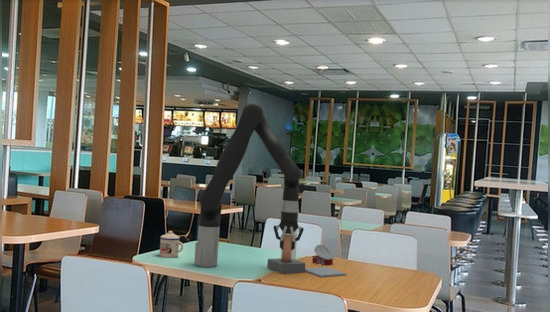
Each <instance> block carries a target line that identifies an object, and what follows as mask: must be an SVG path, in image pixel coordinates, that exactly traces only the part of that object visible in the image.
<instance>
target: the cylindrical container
mask: <svg viewBox="0 0 550 312" xmlns="http://www.w3.org/2000/svg"><path fill="white" fill-rule="evenodd" d="M299 211H300V210H298V215H299V214H300V213H299ZM298 230H299V229H298V228H297V230H296V231H295V232H294V235H295V238H297V237H298ZM285 235H291V234H285ZM297 242H298V241H296V242H295V248H294V249H293V250H292V251H291V258H292V259H295V260H297V259H296V257H297V245H298V244H297ZM280 250H281V249H280ZM280 252H281V253H280V258H282V250H281V251H280Z"/></svg>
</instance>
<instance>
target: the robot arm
mask: <svg viewBox="0 0 550 312" xmlns="http://www.w3.org/2000/svg"><path fill="white" fill-rule="evenodd" d="M254 132H255V133H256V135H258V137H259V138H260V140H261V142H262V143H263V145H264V147H265V148H266V150H267V152H268V154H269V155H270V157H271V158H272V159H273V160H274V162H275V164H276V165H277V166H278V167H279V169H280V171H281V172H282V174H283V192H282V201H281V207H280V209H281V210H280V222H279V224H277V225H273V227H272V228H273V230H274V231H273V232H274V235H275V239H276V240H278V241H279V248H280V250H283V238H284V235H285V234H291V235H292V249H291V250H293V249H294V248H295V242H296V241H297V242H298V241H299V242H300V239H301V237H302V236H303V232H304V227H303V226H302V227H301V226H299V214H298V210H299V199H300V198H299V196H300V190H299V186H300V178H301V175H302V174H301V173H302V172H301V170H300V168H299V167H298V165H297V164H296V163H295V161H294V160H293V158H291V156H290V154H289V152H288V151H287V149H286V148H285V145H283V143H282V142H281V140H280V139H279V137H278V136H277V135H276V134H275V133H274V132H273V130H272V129H271V127H270V126H269V124H268V121H267V120H266V117H265V115H264V110H263V108H262V106H261V105H260V104H258V103H256V102H250V103H248V104H246V105H245V106H244V107H243V109H242V113H241V114H240V118H239V121H238V123H237V126H236V127H235V130H234V132H233V133H232V135H231V136H230V138H229V139H228V141H227V143H226V145H225V147H224V149H223V150H222V152H221V155H220V156H219V160H218V161H217V164H216V166H215V169H214V172H213V174H212V177H211V178H210V180H209V182H208V184H207V186H206V187H205V188H204V190H203V192H202V193H201V195H200V198H199V205H200V211H199V212H200V213H199V218H198V230H197V241H196V242H195V246H194V248H195V249H194V261H193V262H194V263H193V264H194V265H195V266H197V267H201V268H203V267H205V268H213V267H216V266H218V256H219V255H218V254H219V245H220V244H219V242H220V241H219V240H220V225H221V218H222V217H221V216H222V207H223V206H222V205H223V204H222V203H223V195H224V193H225V190H226V188H227V186H228V184H229V183H230V181H231V179H232V178H233V176H234V175H235V174H236V172H237V170H238V168H239V167H240V165H241V163H242V161H243V159H244V157H245V154H246V152H247V149H248V146H249V143H250V140H251V137H252V136H253V133H254ZM299 211H300V210H299ZM297 228H298V230H297ZM279 229H280V230H281V235H280V236H279V232H278V231H279ZM296 230H297V232H298V233H297V238H295V235H294V232H295V231H296Z"/></svg>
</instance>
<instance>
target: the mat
mask: <svg viewBox="0 0 550 312" xmlns="http://www.w3.org/2000/svg"><path fill="white" fill-rule="evenodd" d="M305 271H306V273H308V274H311V275H313V276H315V277H319V278H327V277H328V278H329V277H342V276H347V273H346V272H344V271H340V270H337V269H334V268H330V267H329V266H318V267H317V266H316V267H305Z"/></svg>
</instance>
